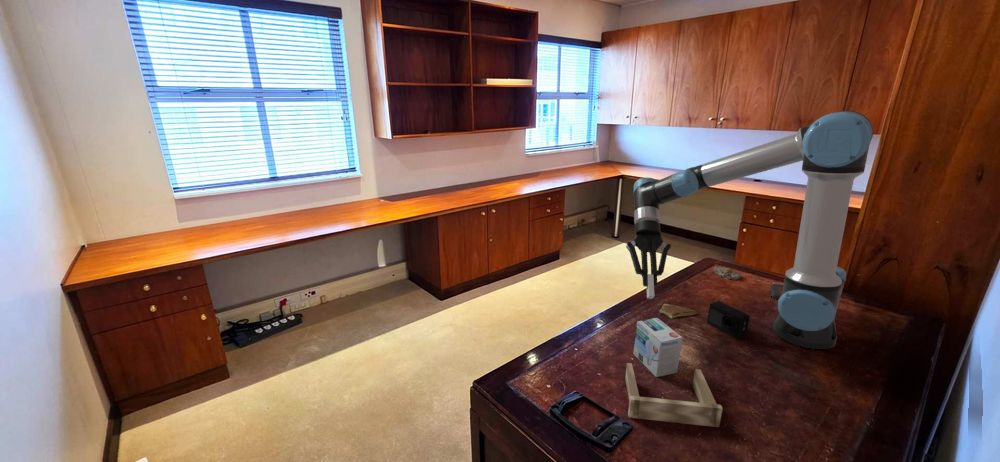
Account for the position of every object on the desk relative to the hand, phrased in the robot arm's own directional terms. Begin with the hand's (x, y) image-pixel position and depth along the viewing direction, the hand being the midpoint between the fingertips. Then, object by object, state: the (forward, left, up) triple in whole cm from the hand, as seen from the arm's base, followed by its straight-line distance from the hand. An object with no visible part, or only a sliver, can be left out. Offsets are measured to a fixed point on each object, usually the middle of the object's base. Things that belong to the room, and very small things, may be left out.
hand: (650, 297), depth 116 cm
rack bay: (0, +25, -14) cm, 29 cm away
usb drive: (-52, -36, -15) cm, 65 cm away
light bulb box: (0, +11, -14) cm, 18 cm away
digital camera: (-25, -9, -14) cm, 30 cm away
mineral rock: (-39, -51, -15) cm, 66 cm away
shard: (-12, -19, -15) cm, 27 cm away
